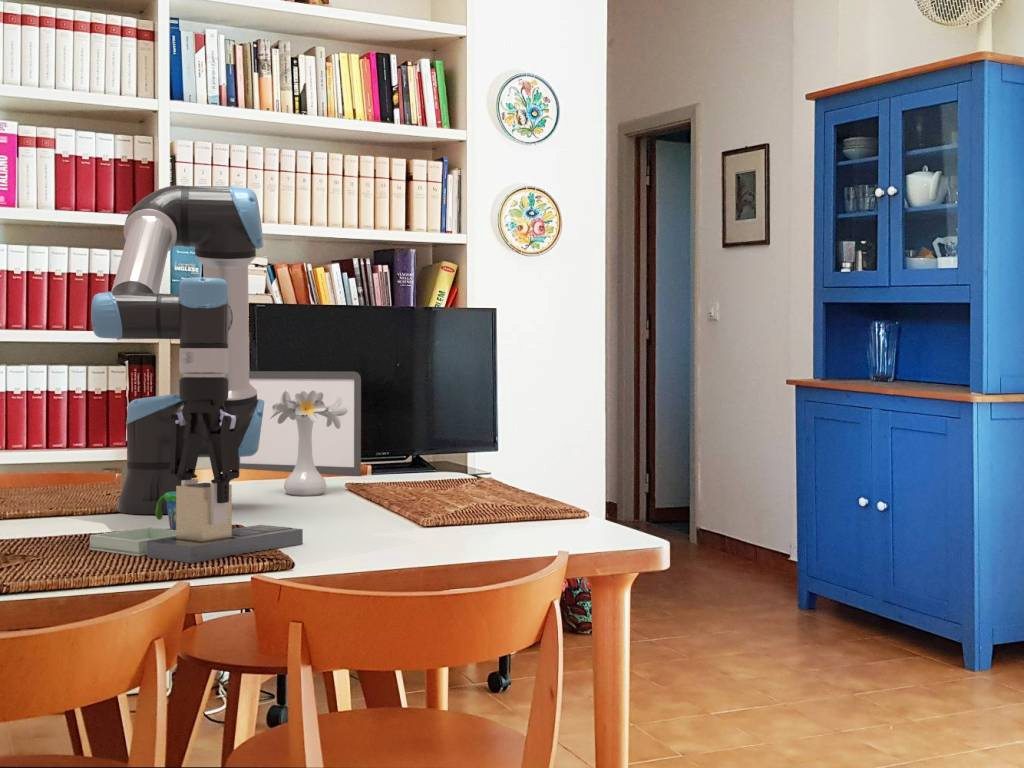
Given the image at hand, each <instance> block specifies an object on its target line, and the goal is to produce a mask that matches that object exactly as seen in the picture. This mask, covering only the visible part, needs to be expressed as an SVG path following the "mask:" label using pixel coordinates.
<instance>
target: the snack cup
mask: <svg viewBox="0 0 1024 768" xmlns="http://www.w3.org/2000/svg"><path fill="white" fill-rule="evenodd" d="M163 499H165V500H166V502H167V507H168V514H167V516H168V522H169V530H176V492H168V493H165V495H163V496H162V497H161V498H160V499H159V500H158V503H157V506H156V514H155V517H156V519H157V520H158V521H161V520H162V519H163V514H162V511H161V505H162V502H163Z"/></svg>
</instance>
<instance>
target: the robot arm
mask: <svg viewBox="0 0 1024 768" xmlns="http://www.w3.org/2000/svg"><path fill="white" fill-rule="evenodd" d="M123 237H124V239H125V243H124V246H123V249H122V253H121V257H120V259H119V264H118V268H117V271H116V274H115V278H114V280H113V284H112V288H111V291H107V292H98V293H96V294H94V296H93V297H92V300H91V308H90V309H91V310H90V315H91V317H90V318H91V319H90V320H91V327H92V331H93V333H94V335H95V336H96V337H98V338H101V339H112V340H113V339H114V340H115V339H116V340H117V341H118V340H119V341H120V340H179V373H180V374H181V375H183V377H180V379H178V381H179V382H178V383H179V384H178V385H179V389H178V391H179V392H178V393H173V394H164V395H157V396H150V397H142V398H135V399H133V400H131V401H130V402H129V404H128V406H127V415H126V422H125V425H126V475H125V478H124V481H123V484H122V488H121V491H120V495H119V497H118V499H117V512H118V513H121V514H126V515H127V514H128V515H129V514H131V515H156V506H157V503H158V500H159V499H160V498H161V497H162V496H163V495H165V493H168V492H176V486H179V485H188V484H198V483H199V479H196V478H198V475H197V474H195V473H196V469H197V464H198V459H199V458H209V461H210V464H211V471H212V475H213V479H211V480H210V482H209V483H210V487H211V525H217V524H224V523H227V503H228V501H229V485H230V482H231V481H233V480H235V479H239V478H240V469H239V457H247V456H253V455H254V454H256V453H257V451H258V448H259V440H260V433H261V425H262V418H263V410H264V400H261V399H258V400H257V390H256V389H255V388H254V387H253V386H252V385H251V384H250V383H249V371H250V333H249V332H250V330H249V329H250V326H249V325H250V319H249V315H250V314H249V312H250V311H249V310H250V308H249V265H250V264H251V263H252V262H253V261H254V260H255V259H256V258H257V249H258V250H260V249H261V248H263V247H264V238H263V227H262V218H261V212H260V205H259V201H258V197H257V195H256V192H255V191H254V190H253V189H251V188H246V187H238V186H226V185H225V186H224V185H223V186H220V185H219V186H217V185H215V186H213V185H212V186H211V185H210V186H209V185H206V186H205V185H202V186H201V185H178V184H177V185H176V184H175V185H171V186H166V187H163V188H160V189H158V190H154V191H153V192H151V193H150V194H148V195H146V196H144V197H143V198H142V199H141V200H139V201H138V202H137V203H136V204H135V205H134V206H133V207H132V209H131V210H130V211H129V212H128V214H127V217H126V218H125V222H124V225H123ZM173 247H183V248H184V247H187V248H189V247H192V248H193V247H194V256H195V259H197V260H198V261H199V262H200V263H201V265H202V273H203V276H202V277H196V276H195V277H185V278H183V279H181V281H180V283H179V290H178V291H179V293H160V289H161V285H162V280H163V275H164V272H165V267H166V263H167V257H168V253H169V251H171V250H172V249H173ZM161 511H162V515H165V514H167V515H168V507H167V502H166V500H165V499H163V502H162V505H161Z"/></svg>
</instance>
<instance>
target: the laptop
mask: <svg viewBox="0 0 1024 768" xmlns="http://www.w3.org/2000/svg"><path fill="white" fill-rule="evenodd" d="M361 377H362V376H361V374H360V373H359V372H357V371H326V370H325V371H320V370H319V371H318V370H317V371H314V370H312V371H310V370H309V371H292V370H291V371H286V370H285V371H284V370H283V371H279V370H278V371H276V370H275V371H274V370H272V371H271V370H270V371H268V370H266V371H264V370H262V371H260V370H259V371H258V370H255V371H254V370H251V371H250V370H249V383H250V384H251V385H252V386H253V387H254V388H255V389H256V390H257V400H258V399H261V400H264V410H263V418H262V425H261V433H260V440H259V448H258V451H257V453H256V454H254V455H253V456H247V457H239V470H252V471H253V470H255V471H270V472H284V473H292V472H293V470H294V468H295V466H296V463H297V458H298V439H299V438H298V426H297V421H296V419H295V420H291V419H290V418H289V417H288V418H287V419H286V420H285V421H284V422H283V423H281V424H278V418H279V416H280V415H281V414H282V413H283V412H281V413H279V414H277V415H276V416H274V417H273V418H271V417H272V415H273V414H274V413H275V412H274V413H273V408H272V406H273V405H274V404H276V403H280V401H281V396H282V394H283V392H285V390H286V391H287V392H288V393H289V395H290V398H291V401H293V400H294V399H295V394H297V393H298V394H301V392H302V391H305V392H307V393H308V394H309V393H310V392H311V391H313V390H314V391H316V394H317V393H319V392H322V393H323V399H322V401H323V402H324V405H325V406H326V407H327V408H328V406H329V405H333V404H334V403H335V402H336V401H337V399H338V398H340V397H341V398H342V401H341V404H340V406H339V407H337V408H340V407H345V408H347V409H348V411H347V413H346V414H345V415H343V416H337V417H338V418H339V419H340V423H341V424H340V428H339V429H337V428H336V427H335V425H334V423H333V422H332V423H331V425H330V426H329V427H327V425H326V424H327V418H326V417H325V416H322V415H319V414H317V413H316V415H317V421H316V422H313V428H312V455H313V462H314V465H315V467H316V469H317V471H318V472H319V474H320V475H331V476H332V475H333V476H347V477H348V476H349V477H350V476H351V477H361V475H362V378H361ZM327 413H328V412H327ZM304 415H306V414H304ZM270 418H271V419H270ZM269 419H270V420H269ZM331 421H332V420H331Z"/></svg>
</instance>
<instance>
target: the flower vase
mask: <svg viewBox="0 0 1024 768" xmlns="http://www.w3.org/2000/svg"><path fill="white" fill-rule="evenodd" d="M322 399H323V393H322V392H319V393H317V394H316V391H314V390H313V391H311V392H310V393H309V394H308V393H307V392H305V391H302V392H301V394H298V393H297V394H295V399H294V400H293V401H291V398H290V395H289V393H288V392H287V391H286V390H285V392H283V394H282V396H281V401H280V403H276V404H274V405H273V406H272V408H273V413H274V412H275V413H274V414H273V415H272V417H271V418H273V417H274V416H276V415H277V414H279V413H281V412H283V413H282V414H281V415H280V416H279V418H278V424H281V423H283V422H284V421H285V420H286V419H287V418H288V417H289V418H290V419H291V420H295V419H296V421H297V426H298V438H299V439H298V458H297V463H296V466H295V468H294V470H293V472H290V474H289V475H288V476H287V477H286V479H285V480H284V483H283V489H284V491H285V492H286V494H287V495H289V496H294V497H315V496H321V495H322V494H323V493H324V492H325V490H326V489H327V484H326V483H327V482H326V480H325V478H324V477H323V475H322V474H319V472H318V471H317V469H316V467H315V465H314V462H313V455H312V428H313V422H316V421H317V415H316V413H317V414H319V415H322V416H325V417H326V418H327V424H326V425H327V427H329V426H330V425H331V423H332V422H333V423H334V425H335V427H336V428H337V429H339V428H340V424H341V423H340V419H339V418H338V417H337V416H343V415H345V414H346V413H347V411H348V409H347V408H345V407H340V408H337V407H339V406H340V404H341V401H342V398H341V397H340V398H338V399H337V401H336V402H335V403H334V404H333V405H329V406H328V408H327V407H326V406H325V405H324V402H323V401H322ZM327 412H328V413H327ZM304 414H306V415H304ZM271 418H270V419H271ZM270 419H269V420H270ZM331 420H332V421H331Z"/></svg>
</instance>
